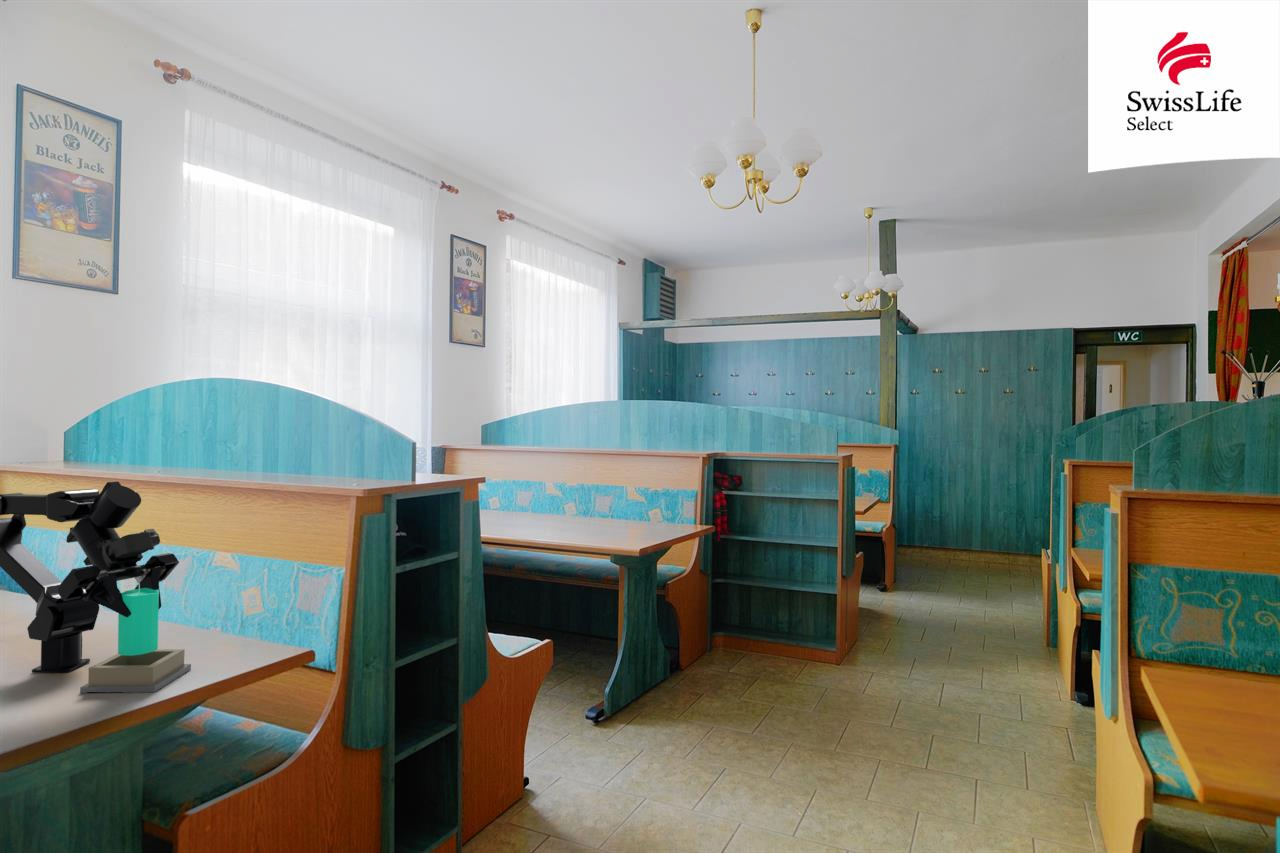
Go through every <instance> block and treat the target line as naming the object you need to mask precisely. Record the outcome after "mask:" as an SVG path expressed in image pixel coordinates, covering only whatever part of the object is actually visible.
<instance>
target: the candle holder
mask: <svg viewBox="0 0 1280 853" xmlns="http://www.w3.org/2000/svg"><path fill="white" fill-rule="evenodd" d="M190 670H192V664H191V663H185V648H184V649H177V648H176V649H175V648H173V649H172V648H171V649H157V650H155V651H153V652H150V653H146V654H142V655H133V656H125V655H120V654H118V653H117V654H114V655H112V656H110V657H108V658H106V659H104V660H103V661H100V662H98V663H96V664H94V665H92V666H90V667H88V678H87V679H88V683H86V684H84V685H82V686H80V687H79V688H80V691H79V694H88V693H87V692H132V693H155V692H157V691H159V690H160V688H161V689H162V688H164V687H165V686H168V684H170V683H172V682H173V681H175V680H176V679H178V678H179V676H180V677H181V676H183V675H184V674H186V673H188V672H189V671H190ZM185 672H186V673H185ZM182 674H183V675H182ZM174 679H175V680H174ZM171 681H172V682H171ZM163 686H164V687H163Z"/></svg>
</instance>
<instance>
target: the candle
mask: <svg viewBox="0 0 1280 853" xmlns="http://www.w3.org/2000/svg"><path fill="white" fill-rule="evenodd" d="M138 584H139V589H135V588H134V589H130V590H125V591H123V592H121V594H122V595H121V596H122V599H123V601H124V603H125V604H126V606H127V607H128V609H129V610H130V612H131V615H130V616H129V617H125V616H123V615H121V614H119V613H118V616H117V618H118V624H117V627H118V628H117V629H118V632H117V634H118V635H117V640H118V641H117V654H120V655H125V656H133V655H142V654H146V653H150V652H153V651H155V650H158V647H159V613H160V612H159V610H160V609H159V590H160V589H159V590H153V589H149V588H140V583H138Z"/></svg>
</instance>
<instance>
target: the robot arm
mask: <svg viewBox="0 0 1280 853" xmlns="http://www.w3.org/2000/svg"><path fill="white" fill-rule="evenodd" d="M141 503H142V498H141V495H140V494H139V492H137V491H135V490H134V489H132V488H130V487H128V486H125V485H122V484H121V483H120V481H107V482H106V483H105V485H104V486H103V488H102V490H101V491H99V490H98V489H96V488H88V489H84V488H83V489H72V490H71V489H70V490H58V491H54V492H50V493H48V494H36V493H35V494H33V493H32V494H30V493H29V494H28V493H27V494H25V493H21V492H16V493H15V492H14V493H13V492H12V493H0V516H7V515H12V516H11V518H10V517H3V518H0V568H1V569H2V570H3V571H4V572H5V573H6V574H7V575H8V576H9V577H10V578H11V579H12V580H13V581H14V582H15V583H16V584H17V585H18V586H19V587H20V588H21V589H22V590H23V591H24V592H25V593H26V594H27V595H28V596H29V597H31V598H32V600H33V601H34V602H35V603H36V610H35V617H34V619H33V620H32V621H31V623H29V625H28V626H27V628H26V629H27V633H28V637H29V639H30V640H34V641H40V643H41V644H40V665H38V666H36V667H35V668H32V669H31V673H68V672H71V671H73V670H75V669H77V668H79V667H81V666H84V665H86V664H87V663H90V662H91V658H83V632H88V631H93V630H94V628H95V625H96V623H97V619H98V615H99V612H100V606H103V607H105V608H107V609H109V610H111V611H113V612H115V613H117V614H118V615H119V614H121V615H123V616H125V617H129V616H130V615H131V612H130V610H129V609H128V607H127V606H126V604H125V603H124V601H123V599H122V596H121V595H122V594H121V593H122V592H121V591H120V589H119V587H118V582H119V581H125V580H129V579H131V580H132V579H134V580H135V581H136V582H137V585H136V586H135V588H134V589H139V583H140V588H149V589H153V590H159V610H160V609H161V608H162V599H161V592H160V591H161V590H160V582H162V581H163V582H164V581H165V580H166V578H167V577H169V575H170V574H171V573H172V571H174V569H175V568H176V567H177V565H179V563H180V561H179V559H178V558H177V557H176V555H175V553H170V552H169V553H168V552H166V553H160V554H156V555H151V557H149V559H148V560H147V561H146V562H145V564H139V565H138V564H137V563H138V562H140V561H141V560H142V559H143V558H144V555H143V554H144V553H146V552H149V551H152V550H154V549H155V547H156V546H158V545H160V543H161V539H160V536H159V534H158V532H157V531H156V530H155V528H148V529H144V530H143V531H139V532H136V533H130V534H126V535H123V536H122V537H120V535H119V534H118V532H117V531H116V529H119V528H121V527H122V526H124V525H125V524H126V522H127V521H128V520H129V519H130V518H131V516H132V515H133V513H134V512H135V511H136V510H137V508H138V507H139V506H140V505H141ZM27 515H28V516H29V515H31V516H33V515H34V516H45V517H46V518H47V520H50V521H53V522H57V523H68V522H76V524H75V525H74V526H72V527H69V532H68V535H67V536H66V543H68V544H69V543H78V544H79V546H80V547H81V550H82V551H83V553H84V554H85V556H86V558H85V559H84V560H83V563H84V565H85V566H83V567H82V566H81V567H76V568H72V569H71V570H70V572H68V574H67V575H66V576H65V577H64V579H63V580H60V579H59V577H57V576H56V575H55V574H54V573H53V572H52V571H51V570H50V569H49V568H48V567H47V566H46V565H45V564H44V563H42V561H40V560H39V559H38V558H37V557H36V556H35V555H34V554H33V553H32V552H31V551H30V550H29V549H28V548H27V547H26V546H24V544H23V543H22V539H23V531H24V529H25V527H27V523H26V518H25V516H27Z"/></svg>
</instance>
